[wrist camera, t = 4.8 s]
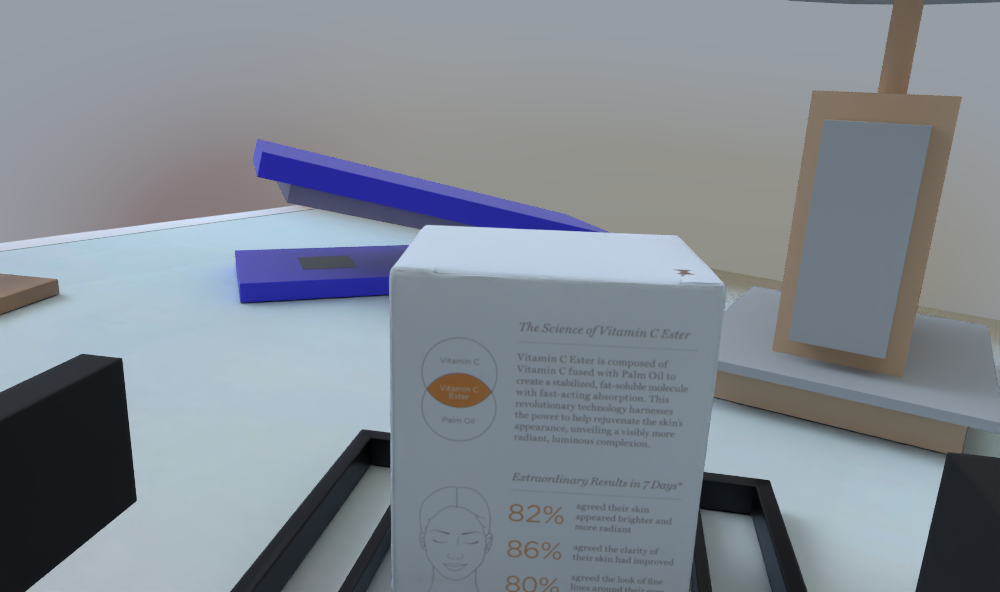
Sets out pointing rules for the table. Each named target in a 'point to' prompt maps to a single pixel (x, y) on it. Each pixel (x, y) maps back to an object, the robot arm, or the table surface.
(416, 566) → the small box
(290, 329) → the table surface
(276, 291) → the stapler
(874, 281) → the desk lamp
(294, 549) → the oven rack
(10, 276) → the plate
